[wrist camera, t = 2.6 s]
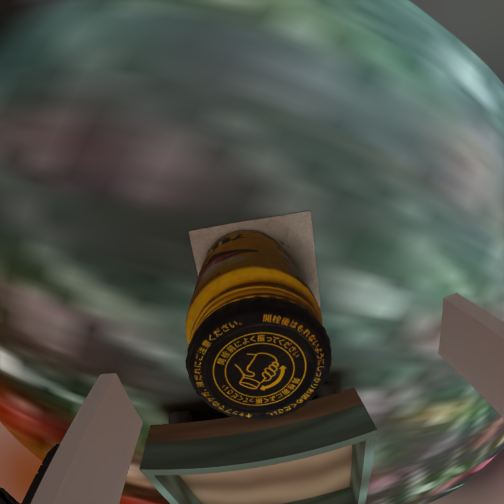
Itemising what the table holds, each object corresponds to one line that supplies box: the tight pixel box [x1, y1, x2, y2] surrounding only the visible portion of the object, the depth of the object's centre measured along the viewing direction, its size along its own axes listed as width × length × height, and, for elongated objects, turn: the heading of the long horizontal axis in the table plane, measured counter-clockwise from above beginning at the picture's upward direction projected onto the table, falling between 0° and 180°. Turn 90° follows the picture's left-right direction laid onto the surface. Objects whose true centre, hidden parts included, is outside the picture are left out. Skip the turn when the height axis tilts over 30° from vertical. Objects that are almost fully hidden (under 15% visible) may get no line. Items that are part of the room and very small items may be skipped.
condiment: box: [186, 211, 331, 420], centre depth 15 cm, size 7×8×12 cm
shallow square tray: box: [140, 382, 377, 504], centre depth 22 cm, size 15×17×8 cm
